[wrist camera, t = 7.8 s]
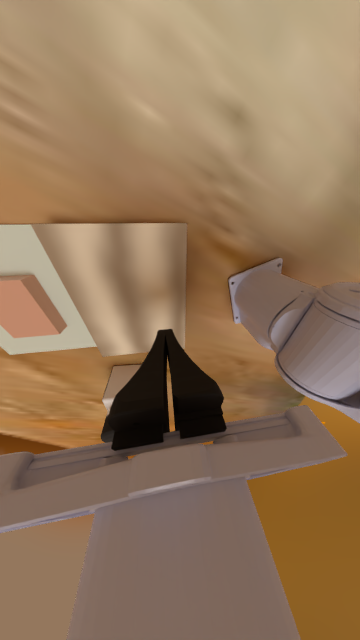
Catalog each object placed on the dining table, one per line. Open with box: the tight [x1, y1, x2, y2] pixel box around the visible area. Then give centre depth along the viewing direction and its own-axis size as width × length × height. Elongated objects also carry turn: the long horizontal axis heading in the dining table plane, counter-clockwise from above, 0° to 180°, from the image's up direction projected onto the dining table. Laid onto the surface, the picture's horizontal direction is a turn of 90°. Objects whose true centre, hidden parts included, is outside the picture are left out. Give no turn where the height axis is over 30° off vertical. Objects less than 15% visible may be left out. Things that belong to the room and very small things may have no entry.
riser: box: [31, 223, 187, 357], centre depth 19 cm, size 14×18×3 cm
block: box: [0, 275, 67, 338], centre depth 17 cm, size 6×8×2 cm
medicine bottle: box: [101, 364, 142, 443], centre depth 26 cm, size 7×7×12 cm
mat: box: [0, 225, 97, 355], centre depth 18 cm, size 16×18×1 cm
